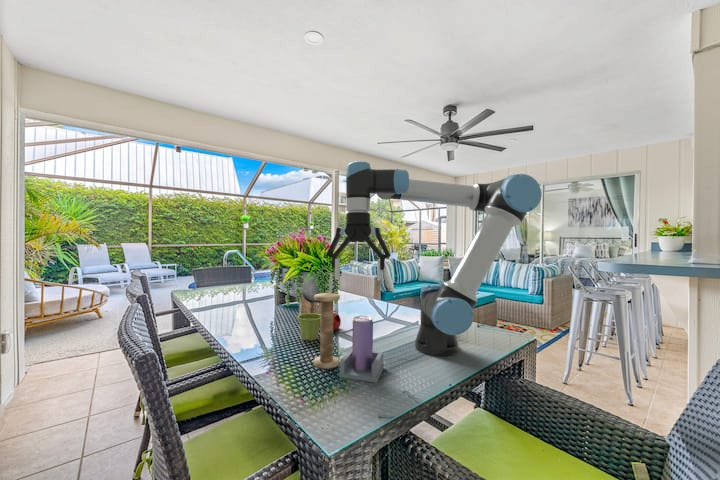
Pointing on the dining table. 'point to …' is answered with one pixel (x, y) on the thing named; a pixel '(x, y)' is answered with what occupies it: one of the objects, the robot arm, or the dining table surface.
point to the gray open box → (370, 376)
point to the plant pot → (309, 326)
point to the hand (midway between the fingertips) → (358, 279)
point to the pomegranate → (336, 321)
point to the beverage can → (362, 344)
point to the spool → (326, 331)
